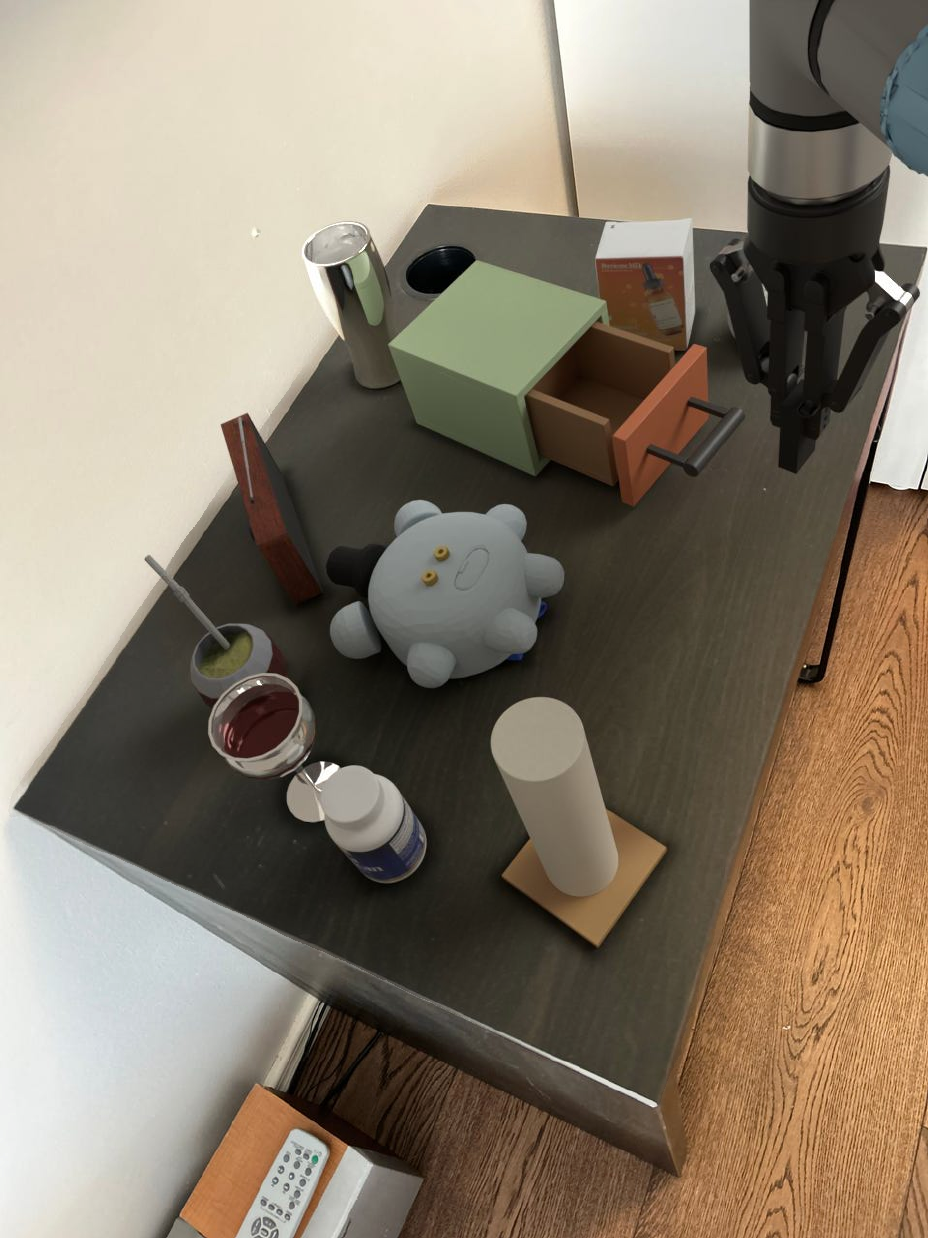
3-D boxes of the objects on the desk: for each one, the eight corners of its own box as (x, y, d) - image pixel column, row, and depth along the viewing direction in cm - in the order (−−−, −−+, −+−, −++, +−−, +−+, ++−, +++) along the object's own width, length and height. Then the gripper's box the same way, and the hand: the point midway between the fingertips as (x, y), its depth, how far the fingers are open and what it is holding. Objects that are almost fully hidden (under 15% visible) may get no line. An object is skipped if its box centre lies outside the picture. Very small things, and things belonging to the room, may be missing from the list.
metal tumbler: (391, 399, 97) (342, 272, 85) (338, 383, 101) (284, 260, 89) (429, 353, 100) (386, 225, 88) (376, 339, 103) (329, 214, 91)
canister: (633, 851, 65) (603, 725, 51) (589, 912, 63) (545, 799, 49) (573, 812, 68) (528, 681, 53) (529, 869, 66) (471, 750, 52)
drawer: (759, 436, 82) (761, 365, 76) (684, 529, 79) (679, 462, 72) (583, 371, 92) (572, 303, 85) (508, 452, 88) (490, 387, 82)
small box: (604, 351, 94) (591, 258, 86) (615, 313, 97) (603, 219, 88) (688, 351, 91) (683, 256, 83) (696, 312, 94) (692, 215, 86)
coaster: (667, 850, 65) (666, 847, 65) (597, 948, 63) (596, 945, 62) (571, 789, 69) (570, 785, 69) (502, 878, 67) (501, 875, 66)
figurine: (602, 556, 80) (403, 524, 90) (578, 484, 73) (367, 459, 83) (517, 734, 72) (311, 678, 82) (482, 672, 66) (263, 619, 76)
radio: (253, 486, 95) (182, 369, 83) (282, 474, 95) (215, 355, 83) (297, 625, 84) (222, 513, 72) (329, 611, 84) (260, 496, 72)
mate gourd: (293, 743, 77) (211, 640, 65) (204, 739, 79) (109, 639, 67) (315, 662, 81) (242, 552, 69) (230, 661, 83) (145, 553, 71)
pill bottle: (344, 873, 70) (294, 819, 62) (374, 805, 72) (330, 746, 64) (410, 895, 67) (368, 842, 60) (439, 825, 70) (402, 765, 62)
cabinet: (617, 386, 91) (606, 300, 83) (535, 476, 87) (515, 395, 79) (497, 341, 99) (476, 259, 91) (416, 423, 94) (387, 344, 87)
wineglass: (350, 739, 76) (294, 658, 66) (368, 814, 72) (311, 740, 62) (269, 769, 76) (201, 693, 66) (283, 846, 72) (213, 777, 62)
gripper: (968, 150, 52) (905, 455, 71) (748, 109, 58) (745, 398, 77) (900, 233, 49) (854, 526, 68) (679, 181, 56) (693, 461, 75)
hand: (796, 458), depth 73 cm, fingers closed
